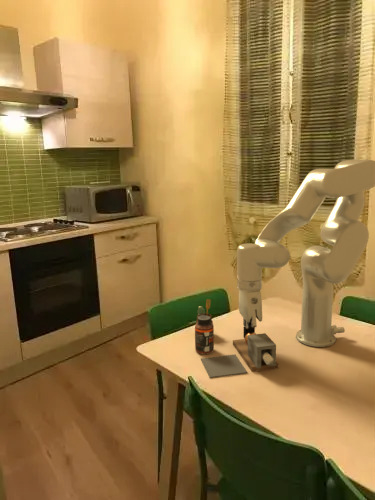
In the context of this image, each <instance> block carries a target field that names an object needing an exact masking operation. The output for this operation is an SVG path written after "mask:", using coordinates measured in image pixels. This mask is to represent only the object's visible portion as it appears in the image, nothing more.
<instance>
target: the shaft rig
mask: <svg viewBox="0 0 375 500" xmlns="http://www.w3.org/2000/svg"><path fill="white" fill-rule="evenodd" d="M232 345H233V347H234V349H235V350H236V352H237V353H238V354H239V355H240V357H241V358H242V360H243V362H245V364H246V366H247V367H248V369H249V370H250V371H251V373H254V372H262V371H270V370H277V369H279V363H278V362H277V344H276V343H275V342H274V340H272V339H271V337H270V336H268V335H267V333H266V332H264V333H258V334H257V333H256V334H255V335H248V345H247V344H246V343H245V340H244V338H242V339H241V338H240V339H233V340H232ZM261 350H266V351H267V352H268V353H269V354H270V355H271V357H272V358H273V359H274V364H273V365H271V366H268V365H267V364H266V363H265V362H264V360H263V359H262V358H261Z"/></svg>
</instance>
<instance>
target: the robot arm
mask: <svg viewBox="0 0 375 500" xmlns="http://www.w3.org/2000/svg"><path fill="white" fill-rule="evenodd" d="M373 188H375V160H373V159H346V160H341V161H340V162H338V163H337V164H336V165H335V166H334V168H316V169H315V168H314V169H312V170H311V171H309V172H308V174H306V176H305V178H304V179H303V181H302V182H301V183H300V184H299V187H298V188H297V189H296V191H295V193H294V194H293V196H292V198H291V199H290V201H289V202H288V204H287V205H286V207H284V209H282V210H281V211H280V212H279V213H278V214H277V215H275V216H274V218H272V219H270V221H269V222H268V223H267V224H266V225H265V226H264V227H263V229H262V230H261V231H260V233H259V235H258V236H257V238H256V239H255V242H254V243H250V242H249V243H242V244H239V245H238V246H237V248H236V249H237V250H236V289H237V290H238V312H239V314H240V315H241V317H242V320H243V321H242V323H243V324H242V325H243V339H245V336H246V335H247V334H248V333H250V332H254V333H256V331H255V330H256V328H257V320H258V321H259V322H262V321H263V301H262V291H261V290H262V288H263V287H262V285H263V284H262V282H263V281H262V280H263V279H262V278H263V275H262V274H263V268H267V269H268V268H269V269H280V268H282V267H285V266H286V265H287V264H288V263H289V261H290V258H291V253H290V251H289V249H288V248H287V247H286V246H285V245H283V244H281V243H280V242H281V241H282V240H283V238H284V237H285V236H286V235H287V234H288V233H290V232H291V231H293V230H295V229H298V228H301V227H304V226H305V225H308V224H309V223H310V222H311V221H312V219H313V218H314V216H315V215H316V213H317V212H318V210H319V209H320V207H321V205H322V204H323V203H324V201H325V199H326V198H328V199H336V200H335V204H333V208H332V209H331V210H330V213H329V214H328V216H327V217H326V220H325V221H324V223H323V225H322V227H321V229H320V238H321V240H322V241H323V242H324V243H326V244H327V245H330V246H332V249H330V248H328V247H325V246H321V245H313V246H309V247H307V248H306V249H305V250H304V251H303V253H302V255H301V260H300V267H301V275H302V294H301V296H302V297H301V324H300V325H301V326H300V330H298V331H296V333H295V338H296V340H297V341H298V342H299V343H301V344H304V345H306V346H309V347H314V348H315V347H317V348H326V346H327V347H329V346H330V345H331V346H332V345H334V344H335V343H336V342H337V341H336V340H337V339H336V336H335V335H336V334H342V333H345V331H346V329H345V327H344V326H337V325H336V324H335V325H333V324H332V320H333V305H334V304H333V300H334V284H335V285H336V284H337V285H338V284H341V283H343V282H345V281H346V280H347V279H348V278H349V277H350V275H351V274H352V272H353V271H354V269H355V267H356V265H357V263H358V262H359V260H360V259H361V257H362V255H363V253H364V251H365V249H366V247H367V246H368V243H369V239H370V236H369V234H370V233H369V229H368V227H367V225H365V223H363V222H362V221H360V220H359V219H360V217H361V215H362V212H363V211H364V207H365V204H366V203H365V201H366V199H365V193H364V191H368V190H371V189H373Z"/></svg>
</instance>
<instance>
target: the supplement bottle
mask: <svg viewBox="0 0 375 500" xmlns="http://www.w3.org/2000/svg"><path fill="white" fill-rule="evenodd" d="M211 320H212V319H210V317H209V316H206V315H202V316H199V317H198V323H196V322H195V325H194V340H195V341H194V344H195V346H194V348H195V352H196V353H198V354H201V355H208V354H212V353H213V352H214V348H215V347H214V346H215V344H214V343H215V339H214V336H215V335H214V331H215V328H214V323H213V324H212V323H211V322H210V321H211Z"/></svg>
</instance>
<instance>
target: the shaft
mask: <svg viewBox="0 0 375 500" xmlns="http://www.w3.org/2000/svg"><path fill="white" fill-rule="evenodd" d="M255 334H257V333H256V332H255V333H254V332H250V333H248V334H247V335H246V336H245V339H244V338H243V339H244V340H245V343H246V344H247V345H248V335H255ZM261 358H262V359H263V360H264V362H265V363H266V364H267V365H268V366H271V365H273V364H274V359H273V358H272V357H271V355H270V354H269V353H268V352H267V351H266V350H261Z"/></svg>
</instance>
